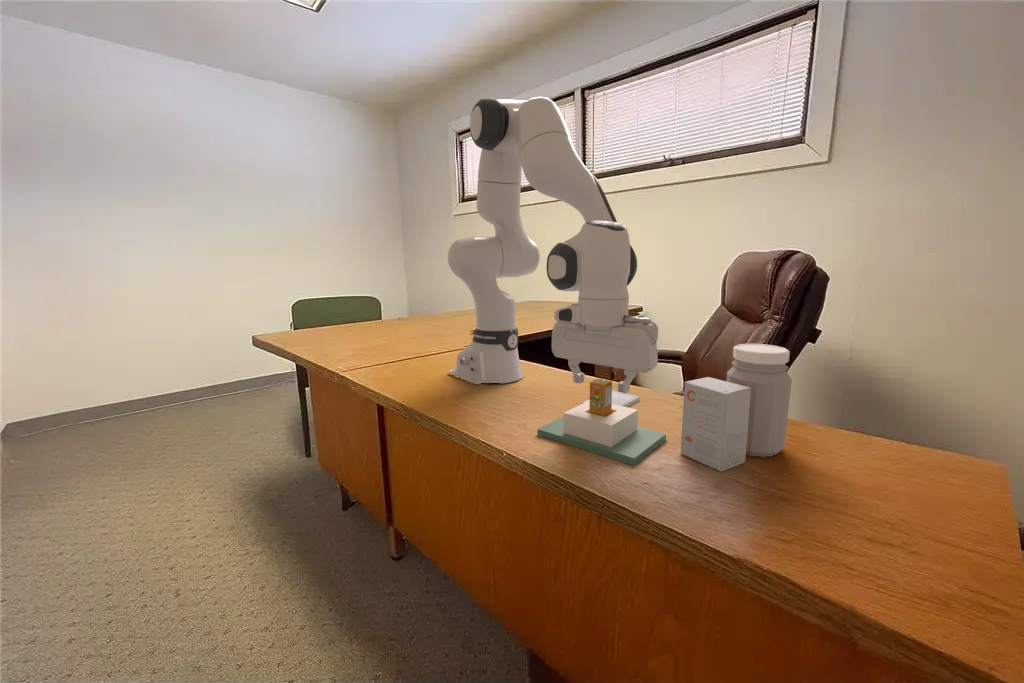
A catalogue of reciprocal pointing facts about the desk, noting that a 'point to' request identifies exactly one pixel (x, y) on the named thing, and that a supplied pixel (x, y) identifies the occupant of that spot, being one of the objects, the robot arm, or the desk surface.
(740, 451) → the small box
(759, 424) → the jar
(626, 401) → the hard drive
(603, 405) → the supplement box
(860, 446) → the desk surface
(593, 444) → the board
